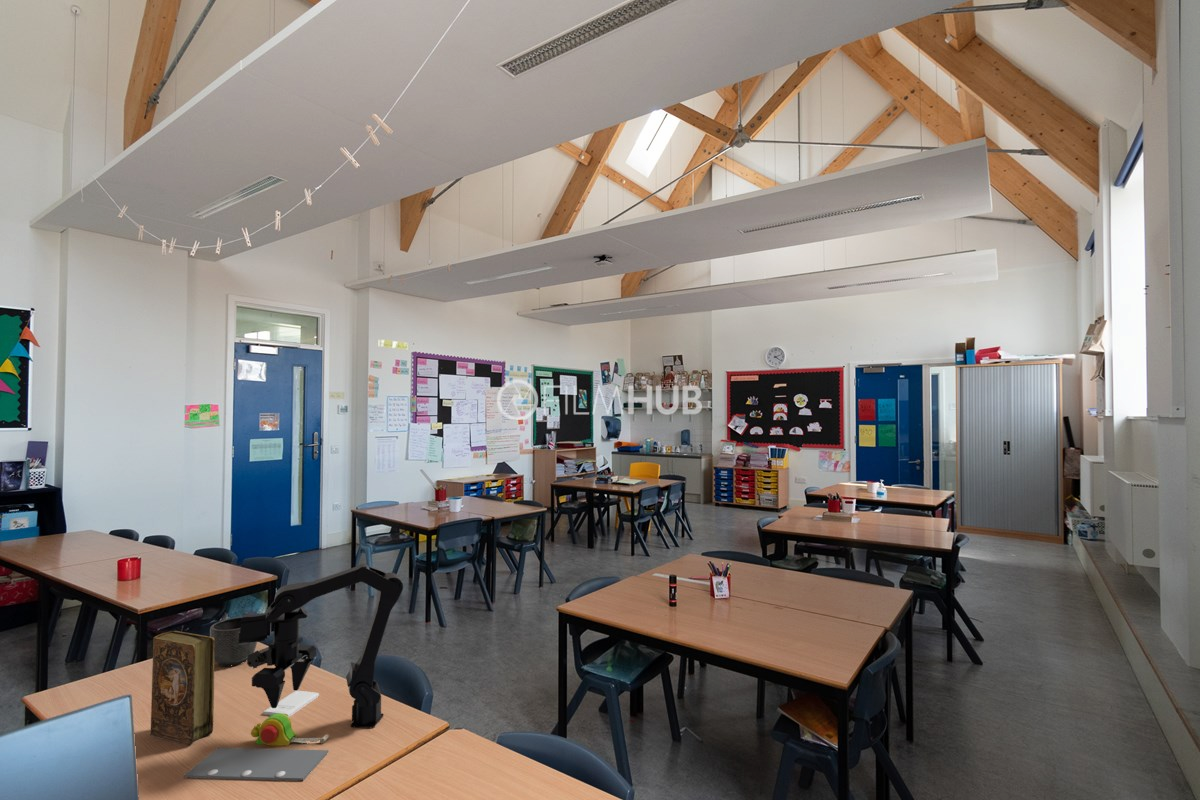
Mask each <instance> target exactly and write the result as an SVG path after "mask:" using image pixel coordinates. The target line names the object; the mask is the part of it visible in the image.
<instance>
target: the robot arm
mask: <svg viewBox="0 0 1200 800" xmlns="http://www.w3.org/2000/svg"><path fill="white" fill-rule="evenodd" d="M359 583H364V584H366V585H368V586H369V587H370V588H373V589H375V590H376V602H375V603H376V604H375V608H374V612H373V614H372V619H371V622H370V625H369V627H368V631H367V635H366V636H365V641H364V644H363V647H362V650H361V653H360V656H359V657H358V659H357V661H356V662H353V661H352V662H350V663H349V664H350V665H349V671H348V673H347V674H346V676H345V678H346V683H347V688H348V692H349V696H351V698H352V699H354V700H353V705H352V706H351V721H352V723H351V724H350V728H366V729H367V728H369V729H370V728H371V729H372V728H373V729H374V728H375V727H376V725H377V724H379V722H380V721H381V719H383V718H384V713H382V694H381V691H380V690H381V689H380V688H379V687H380V686H379V684H378V682H377V681H376V680H374V679H375V666H376V665H375V664H376V660H377V657H378V653H379V651H380V646H381V644H382V641H383V638H384V635H385V631H386V628H387V624H388V621H389V617H390V614H391V611H393V608H394V607H395V606H396V604H397V603H398V601H399V599H400V597H401V594H402V593H403V589H404V583H403V582H402V580H401V579H400V577H399V576H398V575H397V573H395V572H387V573H386V572H385V571H383V570H380V569H378V568H374V567H371V566H370V565H367V564H366V563H359V564H358V565H356V566H354V567H351V568H348V569H345V570H342V571H340V572H337V573H334V574H331V575H328V576H325V577H321V578H319V579H315V580H311V581H308V582H295V583H291V584H290V583H289V584H284V585H283V586H281V587H280V588H278V590H277V591H276V592H275V594H274V600H273V601H272V603H271V604H270V606H268V607H267V610H266V612H263V613H255V614H243V615H241V616H240V617H241V626H240V632H239V645H241V644H248V643H254V642H257V643H259V642H266V640H267V639H268V637H269V636H271V633H272V623H273V642H271V643H270V644H269V645H268V647H264V648H261V649H259V650H255V651H254V652H252V653H250V654H249V655H248V659H247V661H246V664H247V666H248V667H250V668H253V670H254V669H257V668H258V667H260V666H262V665H266V666H269V667H263V668H262V669H260V670H259V671H257V672H256V673H254V675H253V676H252V677H251V687H256V688H259V689H262V690H263V691H264V693H265V694H266V697H267V699H268V702H269V704H270V707H272V708H276V707H277V705H278V703H279V701H280V700H281V699H280V698H281V696H282V692H283V689H284V687H285V682H286V680H285V678H286V677H285V676H286V672H285V671H287V670H288V669H291V680H292V681H291V682H292V689H293V691H299V689H300V687H301V685H302V683H303V681H304V679H305V676H306V674H307V672H308V670H309V668H310V666H311V665H312V662H313V661H314V658H315V657H316V656H317V648H316V647H315V646H314V644H311V645H310V644H306V645H305V644H301V643H302V642H303V640H304V639H303V637H302V636H301V637H300V619H306V618H307V617H308V611H307V610H305V609H304V608H303V606H305V605H307V604H308V603H309V602H311V601H313V600H315V599H316V598H318V597H321V596H324V595H328V594H330V593H333V592H336V591H338V590H341V589H344V588H345V589H346V588H347V587H350V586H352V585H356V584H359ZM270 666H271V667H270ZM272 666H274V667H272Z"/></svg>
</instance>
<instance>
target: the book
mask: <svg viewBox="0 0 1200 800" xmlns="http://www.w3.org/2000/svg"><path fill="white" fill-rule="evenodd" d="M152 641H153V642H152V673H151V674H152V675H151V701H150V702H151V703H150V704H151V707H150V708H151V711H150V737H153V738H158V739H162V740H166V741H170V742H173V743H178V744H181V745H186V746H192V745H193V743H194V742H195V741H197V740H199V739H200V738H201V739H202V738H203V737H207V736H209V735H212V734H213V731H214V710H215V709H214V707H215V706H214V705H215V703H214V699H215V694H214V693H215V639H214V638H213V637H210V636H208V635H203V634H196V633H190V632H184V631H178V630H171V631H165V632H162V633H160V634H157V635H155V636H153V639H152Z"/></svg>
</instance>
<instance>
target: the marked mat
mask: <svg viewBox="0 0 1200 800" xmlns="http://www.w3.org/2000/svg"><path fill="white" fill-rule="evenodd" d="M328 752H329V750H328V749H298V748H297V749H295V748H293V749H291V748H257V747H256V748H253V747H252V748H251V747H248V748H247V747H217V748H215V750H213V751H212V752H211V753H209V754H208V755H207V756H206V757H204V758H203V759H202V760H201V761H200V762H198V763H197V764H196V765H195V766H193V767H192V768H191V769H190V770H188V771H187V772H186V773H184V774H183V778H184V777H190V778H189V779H209V780H211V779H216V780H217V779H218V780H245V781H246V780H248V781H249V780H251V781H256V780H257V781H282V780H291V781H293V782H295V781H296V782H299V781H298V780H304V781H305V780H306V779H307V777H308V776H309V775H310V774H311V773H312V772H313V771H314V769H316V767H317V766H318V765H319V764H320V763H321V762H322V761H323V760H324V758H325V757H326V756H327V755H328V754H329V753H328ZM327 753H328V754H327ZM321 760H322V761H321ZM311 771H312V772H311ZM310 772H311V773H310ZM291 781H290V782H291Z"/></svg>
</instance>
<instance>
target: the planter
mask: <svg viewBox="0 0 1200 800" xmlns="http://www.w3.org/2000/svg"><path fill="white" fill-rule="evenodd" d="M241 617H242V616H239V617H231V618H227V619H222V620H220V621H217V622H215V623H213V624H212V625H211V626H210V628H209V637H213V638H214V639H215V660H214V662H216V663H217V664H219V665H220V666H221V665H222V666H221V667H225V666H228V667H232V666H231V665H235V666H238V665H237V664H239V665H241V664H240V663H242V662H244V663H245V662H247V661H246V660H247V659H248V655H249V654H250V653H252V652H255V651H256V649H257V644H258V642H254V643H248V644H241V645H239V632H240V626H241ZM242 664H243V663H242Z"/></svg>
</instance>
